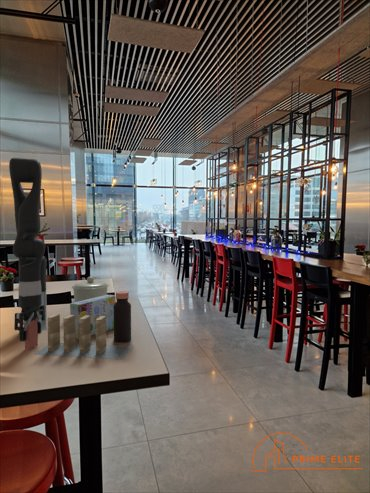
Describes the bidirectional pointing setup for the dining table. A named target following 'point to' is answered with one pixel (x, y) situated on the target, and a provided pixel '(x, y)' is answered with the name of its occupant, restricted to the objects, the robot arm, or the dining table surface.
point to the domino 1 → (31, 335)
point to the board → (89, 352)
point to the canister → (89, 289)
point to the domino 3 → (69, 332)
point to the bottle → (122, 318)
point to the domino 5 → (100, 334)
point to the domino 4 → (85, 333)
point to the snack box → (94, 312)
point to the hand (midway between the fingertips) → (30, 337)
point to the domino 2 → (53, 332)
